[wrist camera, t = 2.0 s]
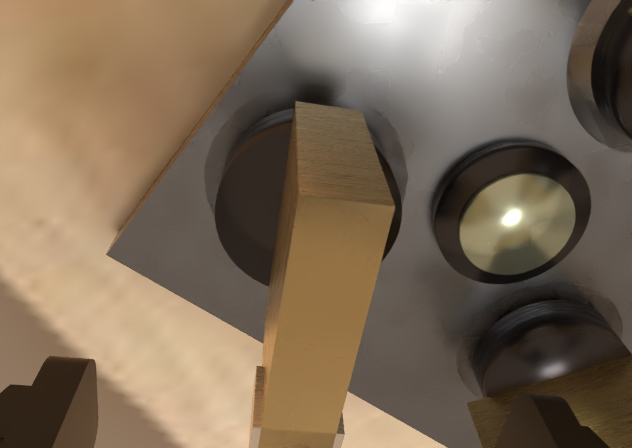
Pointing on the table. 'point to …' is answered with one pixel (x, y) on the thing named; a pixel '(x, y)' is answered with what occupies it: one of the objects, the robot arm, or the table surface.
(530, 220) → the plate
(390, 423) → the table surface
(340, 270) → the knob
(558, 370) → the knob
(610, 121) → the knob
